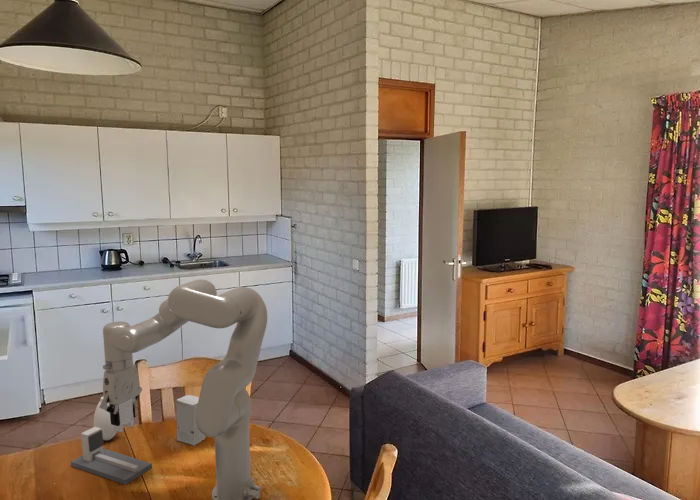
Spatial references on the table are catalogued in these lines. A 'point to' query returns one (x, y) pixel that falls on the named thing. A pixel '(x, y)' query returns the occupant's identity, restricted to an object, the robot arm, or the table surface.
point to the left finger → (125, 415)
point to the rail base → (107, 460)
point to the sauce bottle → (104, 422)
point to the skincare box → (188, 420)
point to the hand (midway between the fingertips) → (123, 420)
